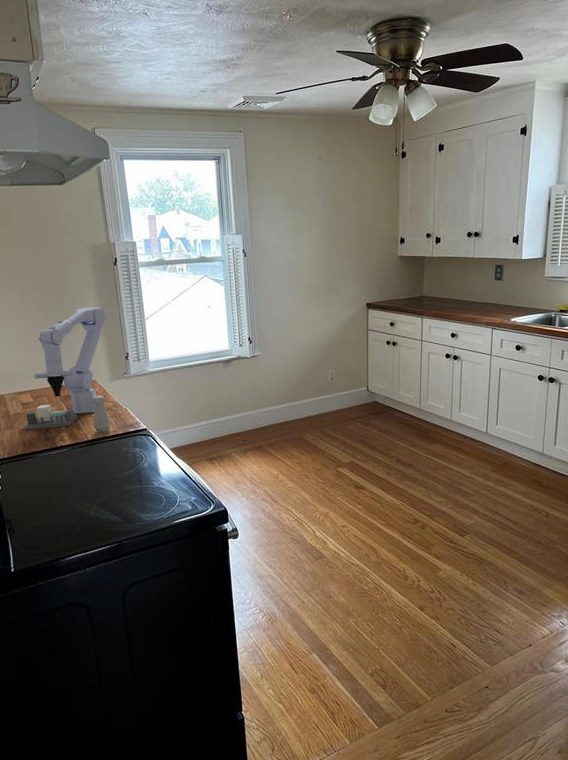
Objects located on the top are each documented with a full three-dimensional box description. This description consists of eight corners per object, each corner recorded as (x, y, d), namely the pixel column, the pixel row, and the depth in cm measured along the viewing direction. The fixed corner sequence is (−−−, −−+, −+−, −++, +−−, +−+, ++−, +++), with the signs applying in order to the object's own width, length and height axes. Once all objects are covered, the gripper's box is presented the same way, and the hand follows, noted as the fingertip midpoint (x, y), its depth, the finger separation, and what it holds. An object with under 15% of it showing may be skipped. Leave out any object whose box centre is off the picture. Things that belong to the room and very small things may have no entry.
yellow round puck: (42, 418, 207) (40, 409, 206) (39, 421, 204) (37, 412, 203) (39, 419, 207) (37, 410, 206) (36, 421, 204) (34, 412, 203)
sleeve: (52, 417, 208) (50, 404, 207) (50, 420, 204) (47, 407, 203) (42, 418, 207) (39, 405, 206) (39, 422, 204) (36, 408, 202)
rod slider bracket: (77, 417, 212) (75, 404, 211) (70, 425, 202) (68, 412, 201) (34, 421, 210) (32, 408, 209) (26, 429, 201) (23, 416, 199)
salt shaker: (106, 434, 190) (100, 398, 187) (91, 434, 191) (85, 398, 188) (114, 428, 195) (109, 394, 192) (100, 428, 197) (94, 394, 193)
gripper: (30, 363, 200) (34, 399, 202) (71, 361, 202) (74, 396, 204) (36, 360, 207) (40, 395, 209) (75, 358, 208) (79, 393, 211)
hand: (57, 396), depth 207 cm, fingers closed
